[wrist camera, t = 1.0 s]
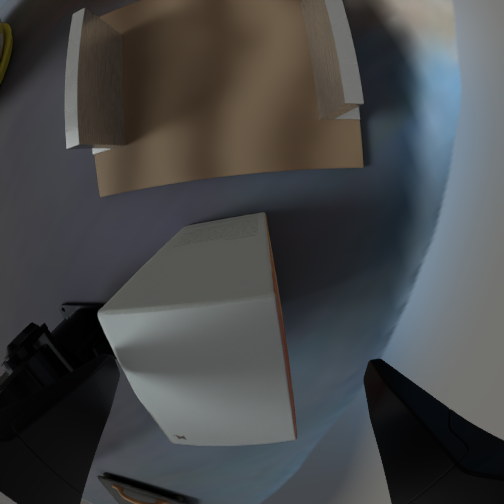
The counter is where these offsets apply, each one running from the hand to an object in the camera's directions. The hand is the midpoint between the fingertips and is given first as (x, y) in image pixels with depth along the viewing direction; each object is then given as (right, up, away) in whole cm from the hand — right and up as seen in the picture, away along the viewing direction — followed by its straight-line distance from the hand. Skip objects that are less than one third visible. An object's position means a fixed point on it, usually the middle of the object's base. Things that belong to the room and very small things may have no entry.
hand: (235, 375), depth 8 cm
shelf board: (-2, +17, +8) cm, 19 cm away
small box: (-1, +3, +13) cm, 13 cm away
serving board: (-28, -65, +38) cm, 80 cm away
